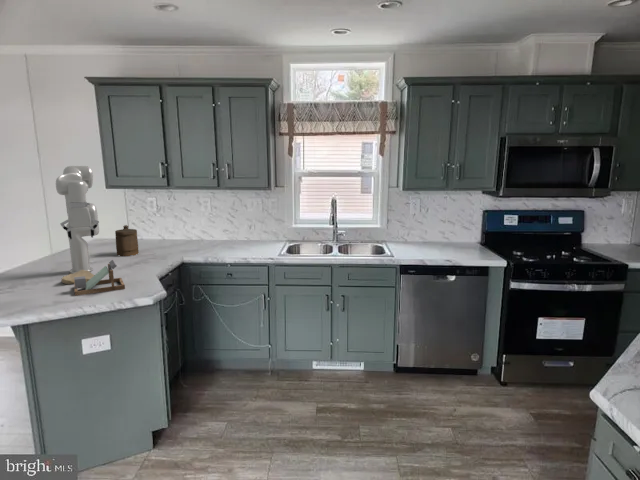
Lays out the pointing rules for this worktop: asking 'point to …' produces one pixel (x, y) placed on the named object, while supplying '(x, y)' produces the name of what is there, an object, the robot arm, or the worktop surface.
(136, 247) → the wooden container
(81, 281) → the block
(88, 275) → the rock
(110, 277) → the frame
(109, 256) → the worktop surface
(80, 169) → the robot arm
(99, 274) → the trapdoor
